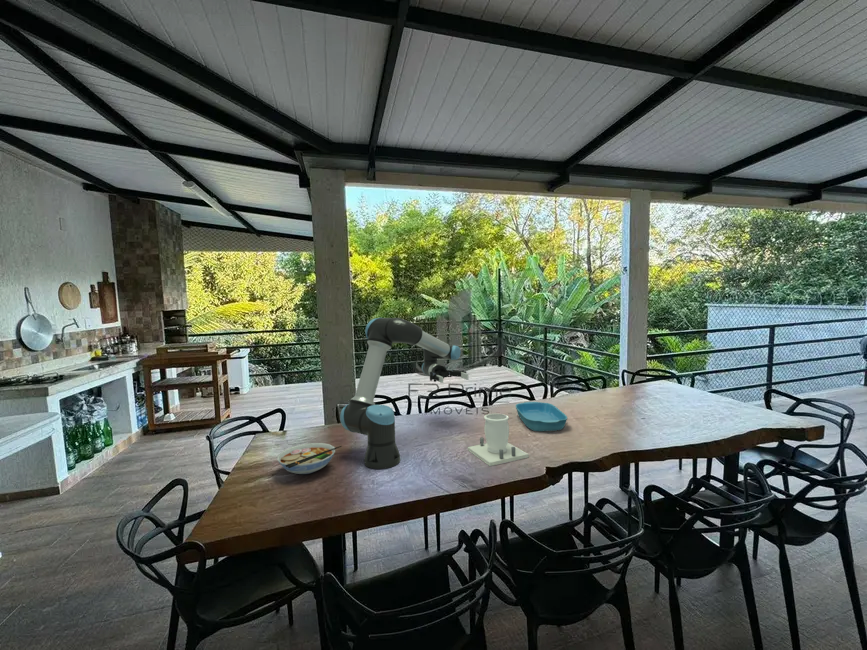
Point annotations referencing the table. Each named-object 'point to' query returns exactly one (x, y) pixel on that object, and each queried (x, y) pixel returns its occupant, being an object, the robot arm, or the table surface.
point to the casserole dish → (541, 416)
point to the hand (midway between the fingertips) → (455, 378)
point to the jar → (496, 432)
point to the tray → (494, 458)
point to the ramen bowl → (306, 457)
